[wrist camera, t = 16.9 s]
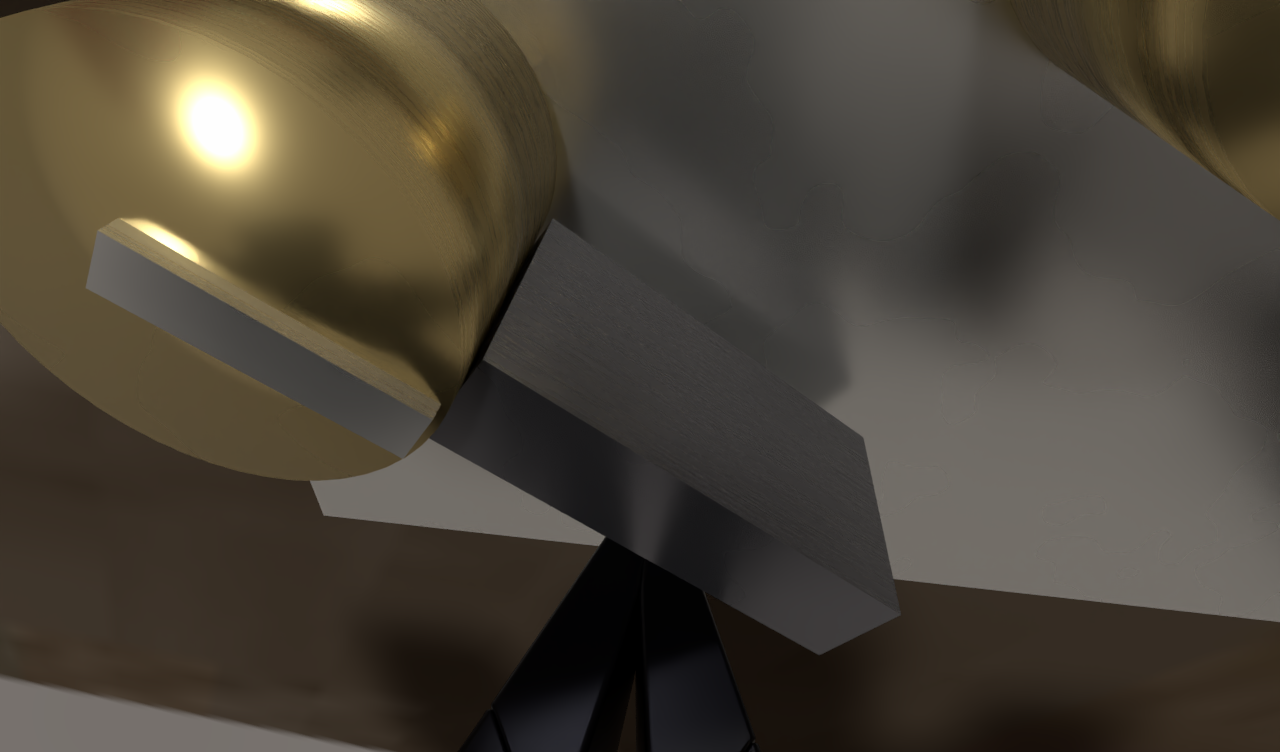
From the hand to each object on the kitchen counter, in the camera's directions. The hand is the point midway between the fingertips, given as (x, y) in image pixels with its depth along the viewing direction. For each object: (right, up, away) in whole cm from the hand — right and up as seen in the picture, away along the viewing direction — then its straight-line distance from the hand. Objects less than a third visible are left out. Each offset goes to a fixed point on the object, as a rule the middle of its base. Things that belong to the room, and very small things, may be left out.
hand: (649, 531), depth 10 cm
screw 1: (-1, +4, -1) cm, 4 cm away
